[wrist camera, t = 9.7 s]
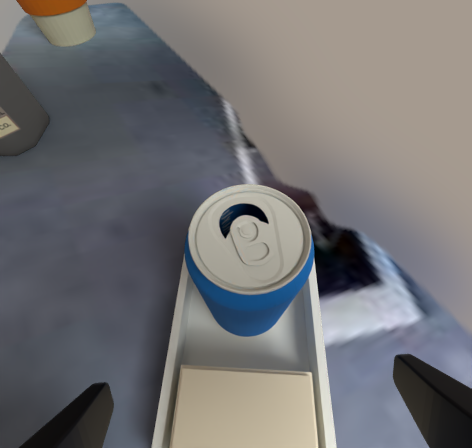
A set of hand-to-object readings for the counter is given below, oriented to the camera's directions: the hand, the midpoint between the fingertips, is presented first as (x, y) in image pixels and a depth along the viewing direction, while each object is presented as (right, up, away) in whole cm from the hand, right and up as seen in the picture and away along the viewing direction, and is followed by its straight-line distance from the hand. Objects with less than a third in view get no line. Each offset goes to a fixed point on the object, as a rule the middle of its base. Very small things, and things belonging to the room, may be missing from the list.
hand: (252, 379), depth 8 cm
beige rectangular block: (0, -8, +10) cm, 13 cm away
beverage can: (0, -2, +14) cm, 14 cm away
